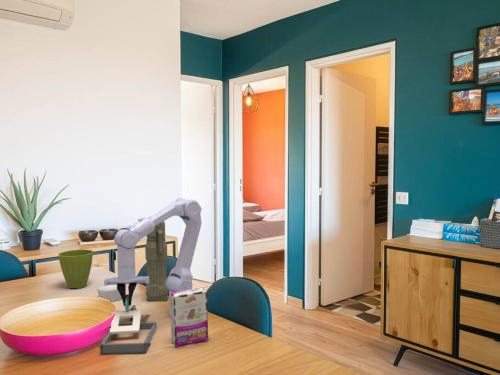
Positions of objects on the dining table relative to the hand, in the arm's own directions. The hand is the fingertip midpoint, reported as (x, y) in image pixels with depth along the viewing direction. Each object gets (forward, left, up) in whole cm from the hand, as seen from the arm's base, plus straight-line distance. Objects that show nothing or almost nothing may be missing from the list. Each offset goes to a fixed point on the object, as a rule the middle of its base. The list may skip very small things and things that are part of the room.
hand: (127, 304), depth 145 cm
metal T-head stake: (0, -8, -8) cm, 12 cm away
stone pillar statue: (-4, -33, -10) cm, 35 cm away
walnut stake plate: (+2, -7, -9) cm, 12 cm away
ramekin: (+16, -36, -10) cm, 41 cm away
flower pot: (+37, -54, -10) cm, 67 cm away
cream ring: (0, +3, -4) cm, 5 cm away
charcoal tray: (-3, +8, -9) cm, 13 cm away
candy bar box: (-22, +9, -10) cm, 25 cm away
